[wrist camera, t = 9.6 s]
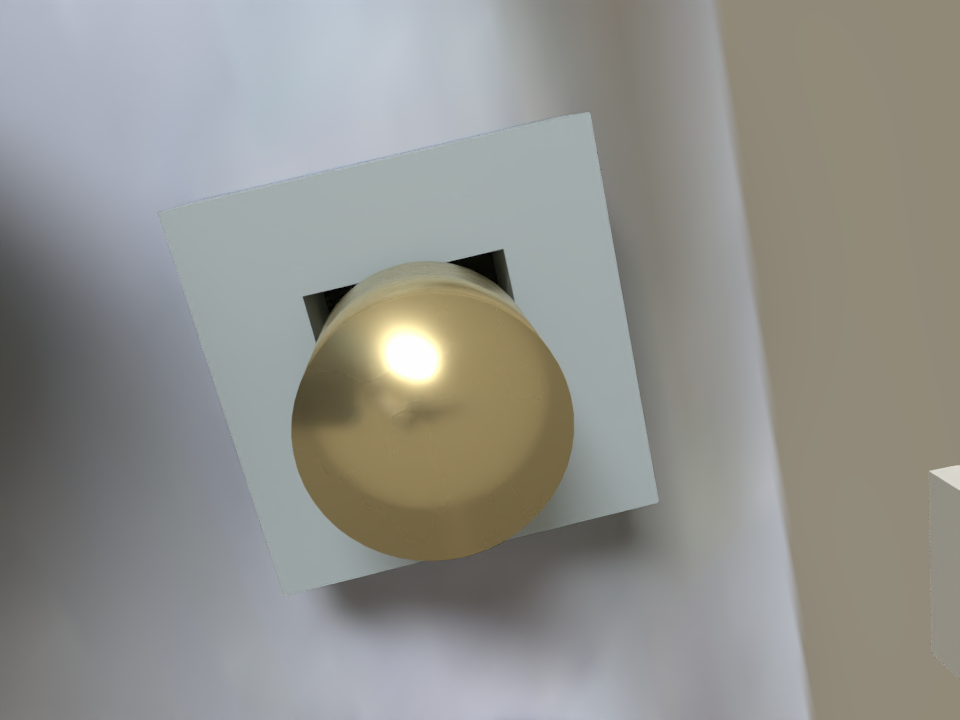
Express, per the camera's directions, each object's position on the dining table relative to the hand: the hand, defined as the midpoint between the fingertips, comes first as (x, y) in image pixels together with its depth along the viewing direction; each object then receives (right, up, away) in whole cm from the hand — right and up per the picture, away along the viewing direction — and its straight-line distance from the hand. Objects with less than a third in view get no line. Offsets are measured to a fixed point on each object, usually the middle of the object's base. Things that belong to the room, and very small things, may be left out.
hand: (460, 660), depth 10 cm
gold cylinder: (-2, +5, +18) cm, 18 cm away
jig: (-2, +5, +18) cm, 18 cm away
